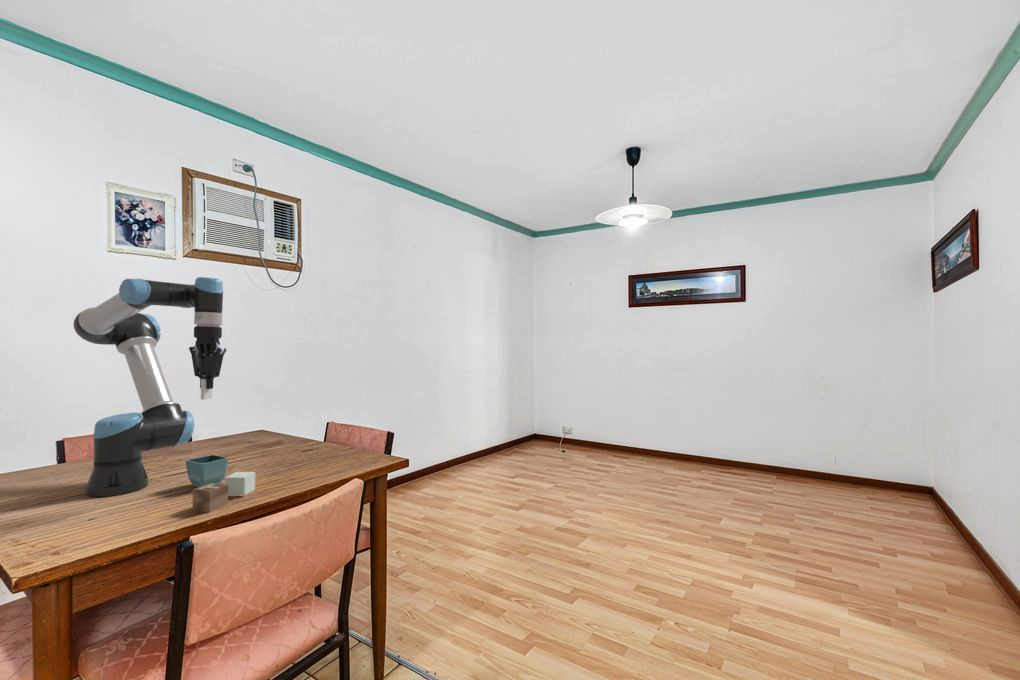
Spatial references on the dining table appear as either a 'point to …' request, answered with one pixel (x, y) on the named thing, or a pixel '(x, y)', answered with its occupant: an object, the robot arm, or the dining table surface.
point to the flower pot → (206, 469)
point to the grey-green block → (240, 483)
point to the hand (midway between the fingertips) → (206, 398)
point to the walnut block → (210, 497)
